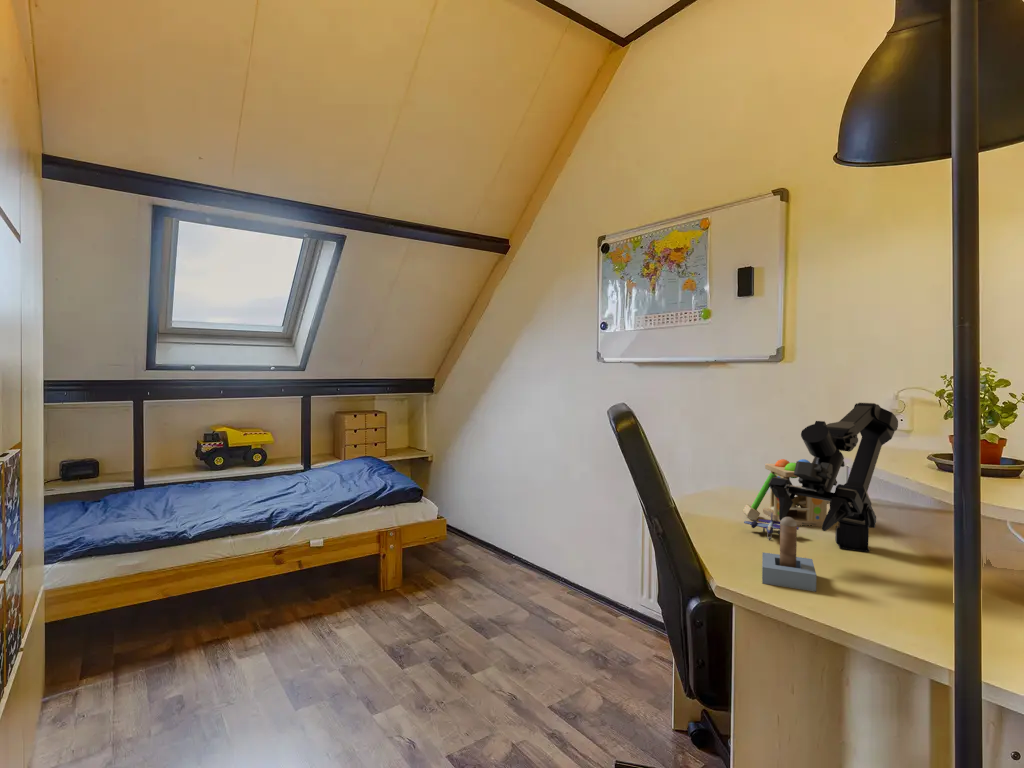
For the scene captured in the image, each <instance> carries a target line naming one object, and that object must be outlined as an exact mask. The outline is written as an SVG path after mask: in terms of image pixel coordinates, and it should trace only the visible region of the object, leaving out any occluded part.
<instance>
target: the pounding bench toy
mask: <svg viewBox="0 0 1024 768" xmlns="http://www.w3.org/2000/svg"><path fill="white" fill-rule="evenodd" d="M798 461H800V462H808V463H811V462H810V461H809V460H808V459H805V458H803V459H799V460H798ZM795 466H796V462H790V461H789V460H787V459H784V458H781V459H778V460H777V461H776V462H775V463H765V464H764V469H765V470H767V471H770V473H769V474H768V475H767V478H766V479H765V481H764V483H763V485H762V486H761V488H760V490H759V492H758V494H757V495H756V497H755V499H754V500H753V503H752V504H751V505H749V504H745V506H744V508H743V510H742V512H743V513H744V515H745V516H746V518H747V517H748V519H750V521H754V520H756V521H757V519H759V517H760V514H761V512H760V511H759V510H758V509H759V507H760V505H761V503H762V501H763V499H764V497H765V496H766V494H767V492H768V491H770V492H769V507H764V508H762V514H764V515H766V516H767V515H768V516H767V517H769V516H770V517H769V518H771V514H772V512H773V515H772V520H773V521H778V522H781V521H780V519H779V499H778V498H777V497H775V495H774V493H773V491H772V490H771V488H770V486H769V485H768V484H769V482H770V480H771V479H772V478H773V477H780V478H786V479H789V480H790V479H797V478H798V479H799V477H798V476H795V475H794V471H795ZM790 481H791V480H790ZM799 486H800V487H802V485H799ZM769 489H770V490H769ZM792 502H793V504H792V506H791V508H790V510H789V512H788V513H787V515H786V517H791V518H793V519H794V520H795V521H796V523H797V527H803V526H802V525H809V526H808V527H822V525H823V522H824V520H825V518H826V516H827V513H828V508H827V507H828V505H830V501H826V500H821V499H815V498H812V497H806V496H801V495H796V494H795V497H794V499H792ZM800 525H801V526H800ZM810 525H812V526H810Z"/></svg>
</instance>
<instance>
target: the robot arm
mask: <svg viewBox="0 0 1024 768" xmlns="http://www.w3.org/2000/svg"><path fill="white" fill-rule="evenodd" d="M898 428H899V420H898V417H896V415H895V414H894V412H892V411H889V410H887V409H885V408H883V407H881V406H880V404H876V403H874V402H858V403H855V404H854V407H853V408H852V410H850V411H849V412H848V413H847V414H846V415H845V416H843V417H842V418H841V419H840V420H839V421H836V422H829V423H827V422H826V421H825V420H824V421H823V420H815V423H813V424H810V425H808V426H805V428H804V429H802V430H801V433H800V437H801V439H802V441H803V443H804V445H805V447H806V449H807V451H808V452H809V455H810V456H813V459H812V462H810V463H808V462H800V461H799V460H797V461H796V462H795V463H796V466H795V471H794V475H795V476H798V480H797V481H798V483H799V484H801V485H794V484H792V481H791V480H789V479H786V478H780V477H773V478H772V479H771V480H770V482H769V484H768V485H769V486H770V487H769V489H770V488H771V490H772V491H773V493H774V495H775V497H777V498H778V499H779V519H780V521H781V520H782V519H783V518H784V517H786V515H787V513H788V512H789V510H790V508H791V506H792V504H793V502H792V499H794V497H796V495H801V496H806V497H812V498H815V499H821V500H826V501H830V504H829V509H828V510H827V516H826V518H825V520H824V522H823V525H822V526H821V531H823V532H827V530H829V529H830V528H832V527H834V526H833V525H836V524H838V525H836V526H835V537H834V539H835V543H836V545H837V546H838V548H839V549H842V550H849V551H850V550H851V551H856V552H857V551H860V552H865V553H870V552H871V549H870V547H869V537H870V535H869V530H870V528H871V529H874V528H876V523H877V515H876V513H875V511H874V509H873V507H872V505H873V504H872V501H871V498H870V496H869V494H868V491H869V488H870V487H869V486H870V483H871V482H872V478H873V475H874V471H875V468H876V465H877V463H878V459H879V455H880V452H881V451H882V450H881V449H882V446H883V445H885V444H886V443H888V442H890V441H891V440H892V439H893V437H894V434H895V432H896V431H897V430H898ZM859 434H860V436H861V439H860V441H859V437H858V435H859ZM858 443H859V445H858ZM857 445H858V448H857V451H856V454H855V456H854V460H853V463H852V465H851V469H850V472H849V474H848V478H847V481H846V483H844V484H840V483H838V481H837V476H838V474H839V473H840V470H841V468H844V467H845V461H844V460H845V457H844V454H843V453H842V452H847V453H848V452H851V451H853V450H854V448H855V447H857ZM800 486H802V487H800ZM834 486H835V490H834V492H832V491H833V487H834ZM795 494H796V495H795Z"/></svg>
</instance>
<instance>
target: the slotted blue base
mask: <svg viewBox="0 0 1024 768" xmlns="http://www.w3.org/2000/svg"><path fill="white" fill-rule="evenodd" d="M761 554H762V558H761V559H762V562H761V563H762V565H761V567H762V568H761V572H762V573H761V574H762V575H761V576H762V577H761V578H762V581H761V582H762V584H765V585H772V586H777V587H784V588H791V589H797V590H802V591H803V590H804V591H807V592H808V591H809V592H816V593H817V572H816V568H815V564H814V561H813V558H807V557H799V556H796V568H793V567H786V566H780V553H772V552H771V553H770V552H762V553H761Z"/></svg>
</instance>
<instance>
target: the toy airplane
mask: <svg viewBox="0 0 1024 768" xmlns="http://www.w3.org/2000/svg"><path fill="white" fill-rule="evenodd" d="M772 515H773V512H772V514H771V517H770V519H761V518H760V519H759V518H758V521H757V520H752V521H748V520H744V522H743V523H744V524H745V525H750V526H751V529H756V527H758V528H762V532H763V533H765V532H767V538H766V539H768V541H771V540H772V537H771V535H772V534H774V530H775V529H776V530H778V531H777V534H778V535H780V522H778V521H776V520H774V519H773V518H772ZM799 527H800V526H797V531H798V530H799V529H800V528H799ZM769 535H770V536H769Z"/></svg>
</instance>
